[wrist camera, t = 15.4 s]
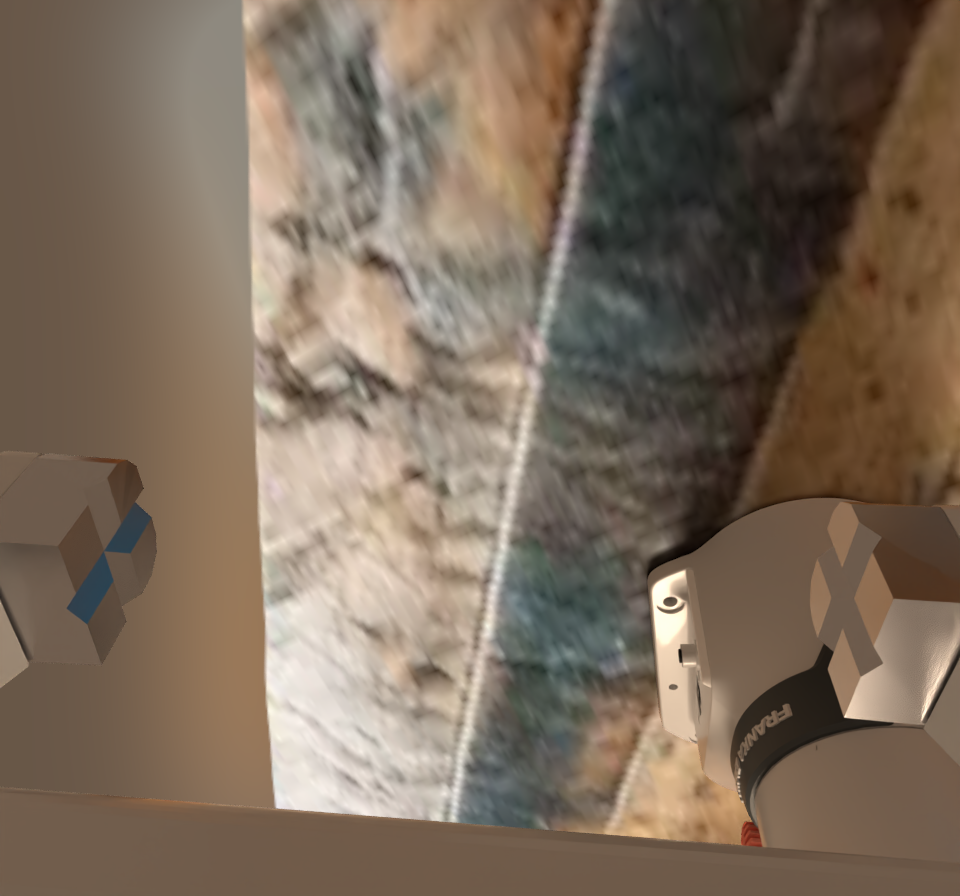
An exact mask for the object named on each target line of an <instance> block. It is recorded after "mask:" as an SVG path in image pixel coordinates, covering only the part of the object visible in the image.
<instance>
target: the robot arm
mask: <svg viewBox="0 0 960 896" xmlns="http://www.w3.org/2000/svg"><path fill="white" fill-rule="evenodd" d="M143 489H144V488H143V485H142V481H141V478H140V475H139V472H138V469H137V466H136V465H134V464H133V463H131V462H130V461H128V460H123V459H111V458H99V457H86V456H74V455H61V454H49V453H48V454H41V453H30V452H14V451H5V452H2V453H0V688H1V687H2V686H3V685H4V684H6V683H7V682H8V681H10V680H11V679H13V678H14V677H15V676H16V675H18V674H19V673H20V672H22V671H23V670H24V669H26V668H27V667H28V666H29V664H28V662H39V663H61V664H62V663H63V664H85V665H102V664H103V662H104V660H105V659H106V657H107V655H108V653H109V651H110V650H111V648H112V646H113V644H114V643H115V641H116V639H117V637H118V636H119V634H120V632H121V630H122V628H123V627H124V625H125V623H126V619H125V615H124V612H123V609H122V606H123V605H125V604H126V603H128V602H129V601H131V600H132V599H134V598H136V597H137V596H139V595H140V594H142V592H143V591H144V589H145V587H146V585H147V583H148V581H149V579H150V577H151V575H152V571H153V566H154V562H155V557H156V552H157V550H156V533H155V529H154V525H153V521H152V518H151V516H150V515H148V514H147V513H146V512H145V511H144V510H143V509H142V508H141V507H140V506H139V505H138V504H137V503H136V502H135V501H136V500H137V498H138V496H139V495H140V493H141V491H142V490H143ZM647 583H648V595H649V606H650V617H651V628H652V639H653V650H654V661H655V672H656V683H657V694H658V704H659V714H660V718H661V722H662V726H663V728H664V729H665V730H666V731H667V732H669V733H671V734H673V735H675V736H677V737H679V738H681V739H684V740H686V741H689V742H692V743H695V744H698V749H699V755H700V761H701V766H702V770H703V772H704V773H705V775H706V776H707V777H708V778H710V779H711V780H712V781H713V782H715V783H717V784H718V785H720V786H722V787H725V788H727V789H729V790H732V791H735V792H738V794H739V797H740V800H741V802H742V803H744V804H745V807H746V809H747V812H748V814H749V816H750V818H751V820H752V822H745V823H744V824H743V827H742V833H741V835H742V837H741V844H742V845H731V844H719V843H706V842H693V841H680V840H668V839H655V838H642V837H629V836H617V835H604V834H591V833H578V832H565V831H553V830H540V829H527V828H515V827H502V826H489V825H477V824H464V823H452V822H439V821H426V820H414V819H401V818H388V817H376V816H363V815H351V814H338V813H325V812H313V811H300V810H287V809H275V808H261V807H250V806H236V805H224V804H211V803H199V802H186V801H174V800H161V799H148V798H134V797H122V796H110V795H96V794H84V793H72V792H59V791H47V790H34V789H21V788H9V787H0V896H960V506H954V505H932V506H918V505H899V504H880V503H864V502H860V501H855V500H848V499H839V498H810V499H801V500H794V501H789V502H784V503H780V504H776V505H772V506H769V507H766V508H763V509H760V510H758V511H755V512H753V513H750V514H748V515H746V516H744V517H742V518H740V519H738V520H737V521H735V522H733V523H731V524H730V525H728V526H727V527H725V528H724V529H722V530H721V531H720V532H718V533H717V534H716V535H715V536H714V537H712V538H711V539H710V540H709V541H708V542H706V543H705V544H704V545H703V546H701V547H700V548H699V549H697V550H696V551H694V552H693V553H691V554H688V555H685V556H682V557H680V558H677V559H674V560H672V561H669V562H667V563H665V564H662V565H661V566H659V567H657V568H655V569H654V570H653V571H652V572H651V573H650V574H649V576H648V580H647ZM667 597H672V598H667Z"/></svg>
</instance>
